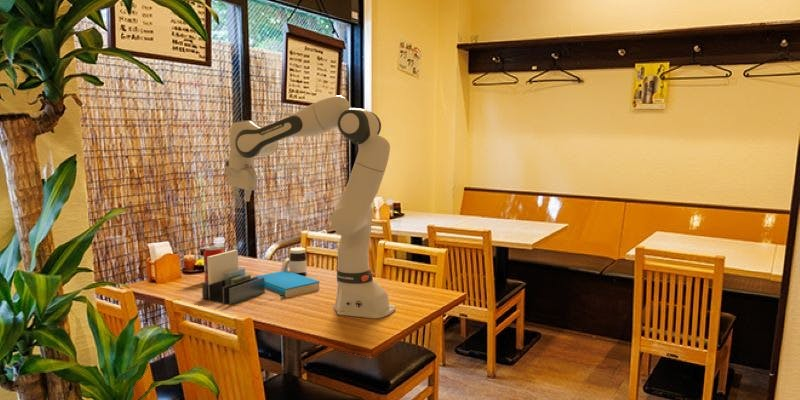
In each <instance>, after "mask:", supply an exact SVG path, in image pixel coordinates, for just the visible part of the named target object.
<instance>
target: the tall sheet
mask: <svg viewBox="0 0 800 400" xmlns="http://www.w3.org/2000/svg"><path fill="white" fill-rule="evenodd" d="M207 263H208V285H209V284H212V283H216V282H219V281H222V280H225V273H227V272H231V271H234V270H237V269H239V251H238V250H237V249H233V250H229V251H225V252H224V251H223V253H220V254H216V255H212V256H208V257H207Z"/></svg>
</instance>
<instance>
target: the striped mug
mask: <svg viewBox="0 0 800 400" xmlns="http://www.w3.org/2000/svg"><path fill="white" fill-rule="evenodd" d="M307 267H308V266H307V253H306V248H305V247H300V246H299V247H298V246H297V247H291V248H290V249H289V255H288V257H287V258H286V259H284V261H283V263H282V265H281V268H280V269H281V270H280V271H285V270H286V271H289V272H292V273H296V274H299V275H302V276H306V274H307V272H308V271H307V269H308V268H307Z"/></svg>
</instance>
